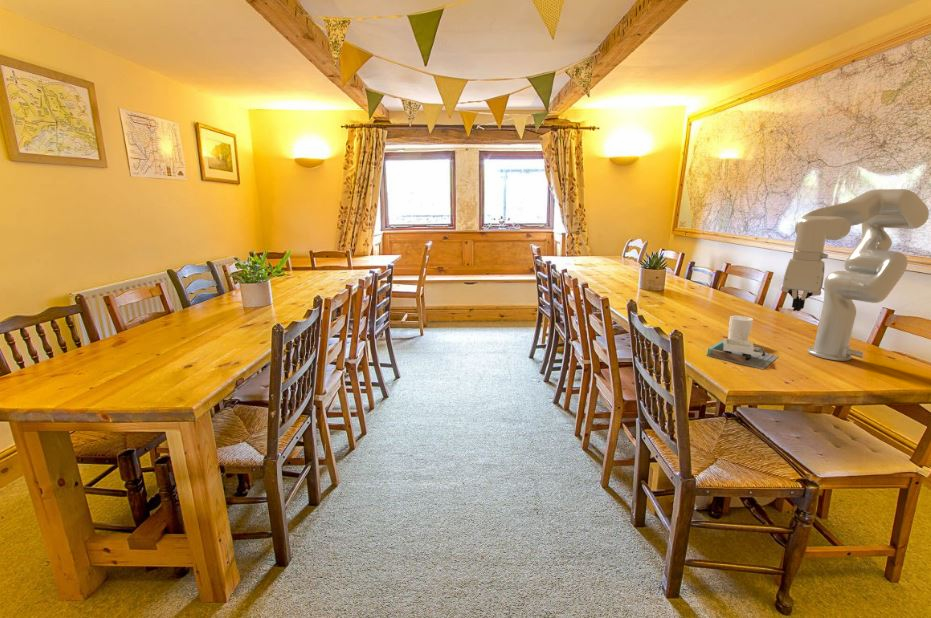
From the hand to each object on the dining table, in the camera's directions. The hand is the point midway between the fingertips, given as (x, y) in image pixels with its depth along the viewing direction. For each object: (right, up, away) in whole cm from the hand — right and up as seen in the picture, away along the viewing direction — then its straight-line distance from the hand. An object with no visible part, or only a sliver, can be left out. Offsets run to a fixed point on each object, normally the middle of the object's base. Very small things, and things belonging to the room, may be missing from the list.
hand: (797, 310), depth 145 cm
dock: (-10, -17, +13) cm, 24 cm away
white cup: (-1, -13, +30) cm, 33 cm away
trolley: (-12, -17, +11) cm, 23 cm away
